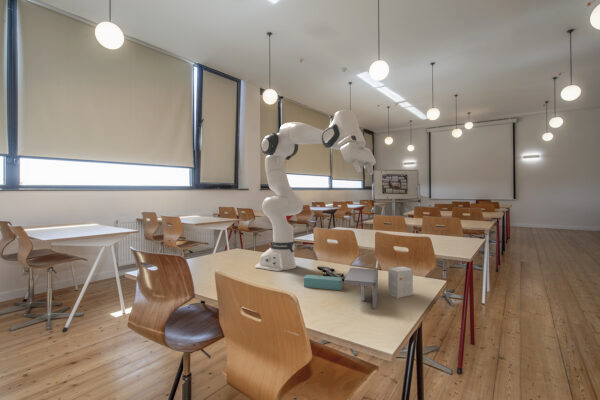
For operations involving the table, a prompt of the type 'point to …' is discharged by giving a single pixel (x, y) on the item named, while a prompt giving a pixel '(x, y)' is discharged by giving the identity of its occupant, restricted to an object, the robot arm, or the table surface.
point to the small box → (400, 282)
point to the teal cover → (323, 282)
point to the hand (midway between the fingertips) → (365, 172)
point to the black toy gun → (330, 272)
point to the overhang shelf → (364, 281)
